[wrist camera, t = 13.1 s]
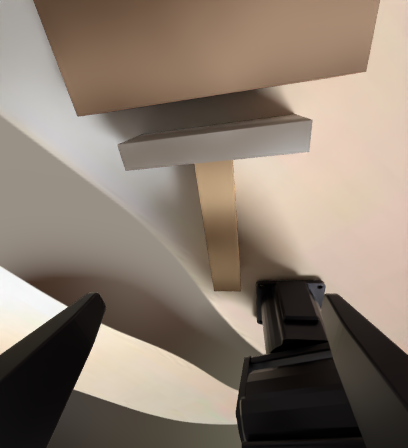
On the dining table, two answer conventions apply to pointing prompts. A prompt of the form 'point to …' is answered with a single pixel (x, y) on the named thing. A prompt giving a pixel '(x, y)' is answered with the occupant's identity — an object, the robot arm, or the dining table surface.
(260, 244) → the dining table surface
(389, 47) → the dining table surface
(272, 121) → the scraper
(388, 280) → the dining table surface
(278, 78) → the board
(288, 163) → the dining table surface
